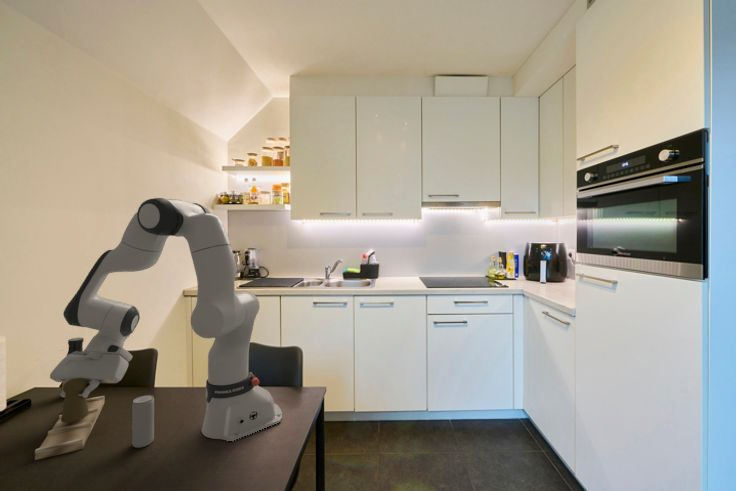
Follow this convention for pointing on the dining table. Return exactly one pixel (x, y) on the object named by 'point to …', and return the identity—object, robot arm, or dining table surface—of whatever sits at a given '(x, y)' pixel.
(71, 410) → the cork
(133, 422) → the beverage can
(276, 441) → the dining table surface
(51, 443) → the ledge board
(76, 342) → the sauce bottle
